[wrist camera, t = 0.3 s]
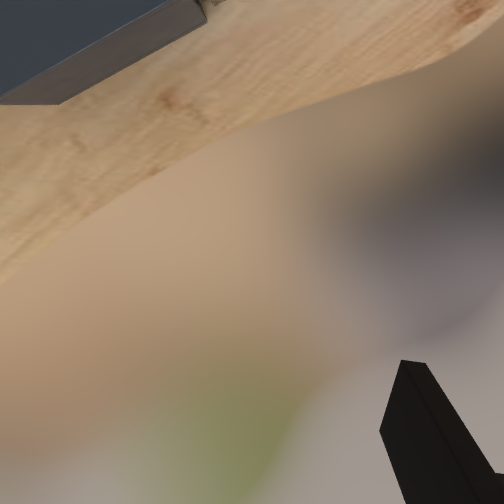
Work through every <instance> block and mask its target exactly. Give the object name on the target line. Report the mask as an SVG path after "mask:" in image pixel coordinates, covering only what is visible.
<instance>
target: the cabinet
mask: <svg viewBox="0 0 504 504" xmlns="http://www.w3.org/2000/svg"><path fill="white" fill-rule="evenodd" d="M206 23H207V19H206V17H205V15H204V13H203V10H202V8H201V6H200V4H199V2H198V0H0V105H59V104H61V103H62V102H64V101H66V100H68V99H70V98H72V97H73V96H75V95H77V94H79V93H81V92H82V91H84V90H86V89H88V88H90V87H91V86H93V85H95V84H97V83H99V82H101V81H102V80H104V79H106V78H108V77H110V76H111V75H113V74H115V73H117V72H119V71H121V70H122V69H124V68H126V67H128V66H130V65H131V64H133V63H135V62H137V61H139V60H141V59H142V58H144V57H146V56H148V55H150V54H151V53H153V52H155V51H157V50H159V49H160V48H162V47H164V46H166V45H168V44H170V43H171V42H173V41H175V40H177V39H179V38H180V37H182V36H184V35H186V34H188V33H190V32H191V31H193V30H195V29H197V28H199V27H200V26H202V25H204V24H206Z"/></svg>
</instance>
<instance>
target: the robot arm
mask: <svg viewBox="0 0 504 504" xmlns="http://www.w3.org/2000/svg"><path fill="white" fill-rule="evenodd" d="M379 431H380V434H381V437H382V440H383V442H384V445H385V448H386V451H387V453H388V456H389V459H390V461H391V464H392V467H393V470H394V473H395V475H396V478H397V481H398V484H399V486H400V489H401V491H402V494H403V497H404V500H405V503H406V504H504V474H500V473H495V472H494V470H493V469H492V467H491V466H490V464H489V463H488V461H487V459H486V458H485V456H484V455H483V453H482V451H481V450H480V448H479V447H478V445H477V444H476V442H475V441H474V439H473V437H472V436H471V434H470V433H469V431H468V429H467V428H466V426H465V425H464V423H463V422H462V420H461V418H460V417H459V415H458V414H457V412H456V411H455V409H454V407H453V406H452V404H451V403H450V401H449V400H448V398H447V396H446V395H445V393H444V392H443V390H442V388H441V387H440V385H439V384H438V382H437V381H436V379H435V377H434V376H433V374H432V373H431V371H430V370H429V368H428V366H427V365H426V363H421V362H413V361H406V360H401V362H400V365H399V368H398V372H397V375H396V378H395V381H394V385H393V388H392V391H391V394H390V398H389V401H388V404H387V407H386V411H385V414H384V417H383V420H382V424H381V427H380V430H379Z"/></svg>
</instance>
